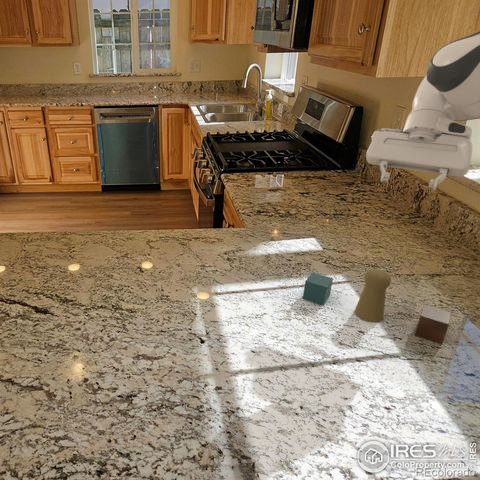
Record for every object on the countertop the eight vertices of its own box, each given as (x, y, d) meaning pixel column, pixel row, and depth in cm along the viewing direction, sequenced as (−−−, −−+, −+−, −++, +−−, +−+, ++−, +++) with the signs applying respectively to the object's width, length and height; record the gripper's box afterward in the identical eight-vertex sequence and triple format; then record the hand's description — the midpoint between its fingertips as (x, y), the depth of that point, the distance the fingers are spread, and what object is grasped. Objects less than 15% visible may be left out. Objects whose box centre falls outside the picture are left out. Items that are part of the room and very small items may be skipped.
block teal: (302, 298, 102) (305, 280, 100) (309, 289, 106) (312, 272, 104) (323, 305, 100) (326, 287, 97) (329, 295, 103) (333, 278, 101)
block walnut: (414, 335, 90) (420, 315, 87) (418, 323, 93) (423, 304, 91) (442, 344, 87) (449, 324, 85) (444, 331, 91) (451, 312, 88)
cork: (350, 314, 96) (359, 272, 91) (360, 303, 100) (369, 262, 95) (378, 325, 93) (389, 282, 88) (387, 313, 97) (398, 271, 92)
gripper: (375, 119, 99) (356, 169, 97) (481, 128, 88) (463, 185, 86) (375, 135, 105) (357, 183, 102) (475, 145, 94) (458, 200, 91)
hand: (407, 184), depth 94 cm, fingers open, 8 cm apart
